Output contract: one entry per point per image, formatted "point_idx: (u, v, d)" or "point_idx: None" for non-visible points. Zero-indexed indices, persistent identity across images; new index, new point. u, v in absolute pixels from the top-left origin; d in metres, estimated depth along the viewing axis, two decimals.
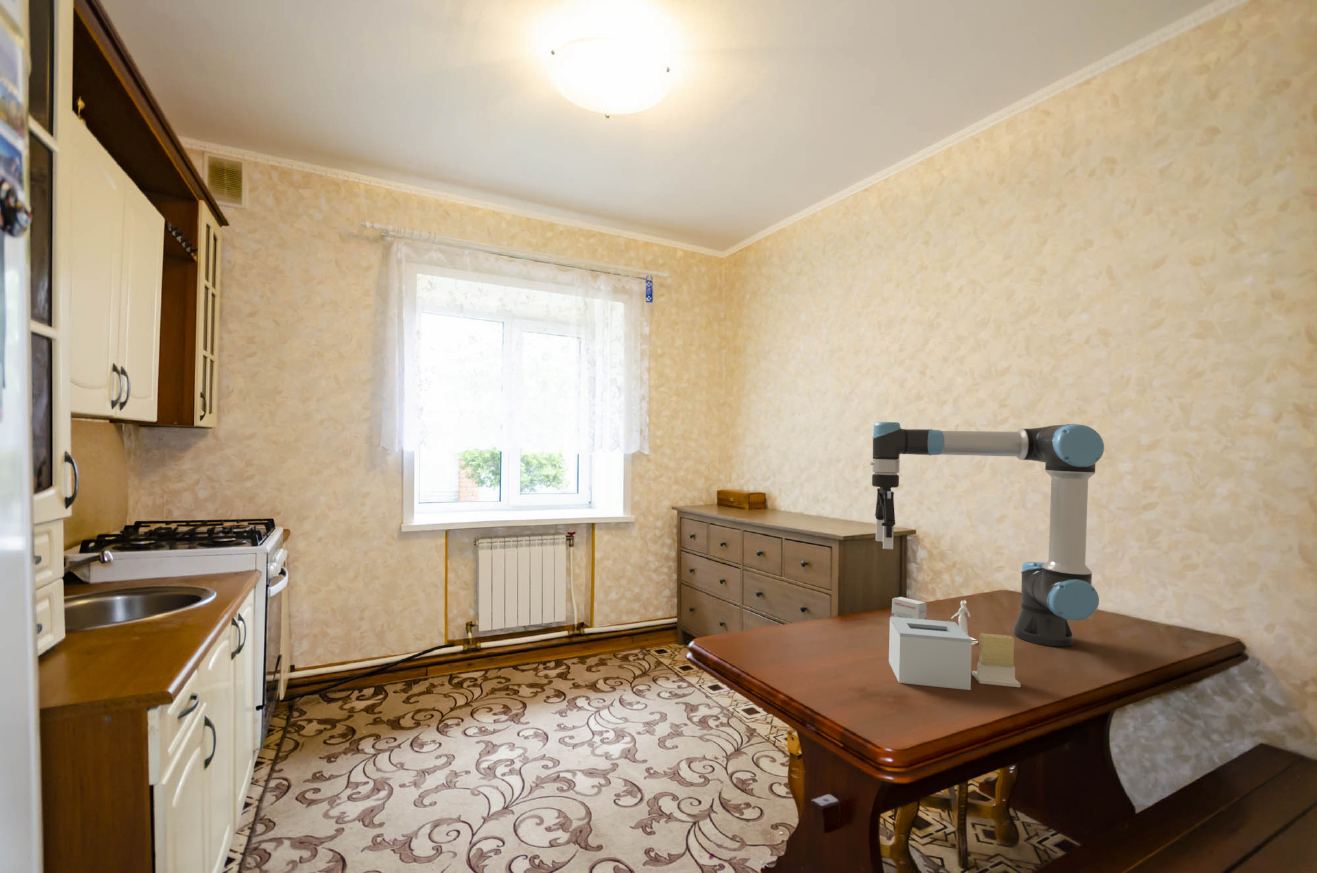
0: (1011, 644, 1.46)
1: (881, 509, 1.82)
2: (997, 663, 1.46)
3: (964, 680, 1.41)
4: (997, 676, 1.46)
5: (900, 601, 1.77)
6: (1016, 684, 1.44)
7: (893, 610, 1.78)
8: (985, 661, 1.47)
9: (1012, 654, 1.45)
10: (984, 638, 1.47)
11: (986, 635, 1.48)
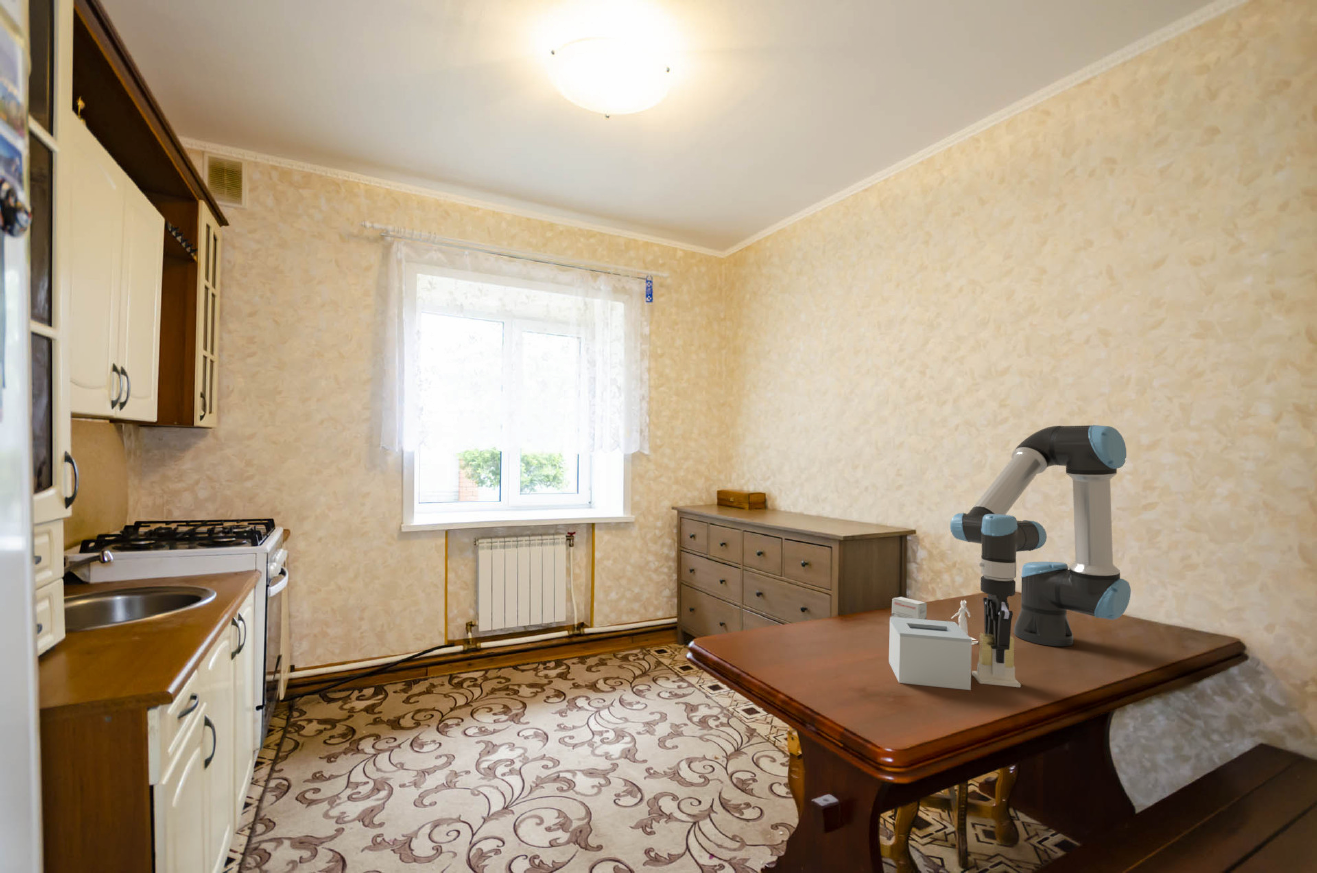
0: (1011, 644, 1.46)
1: (993, 624, 1.49)
2: None
3: (964, 680, 1.41)
4: (997, 676, 1.46)
5: (900, 601, 1.77)
6: (1016, 684, 1.44)
7: (893, 610, 1.78)
8: (985, 661, 1.47)
9: (1012, 654, 1.45)
10: (984, 638, 1.47)
11: (986, 635, 1.48)
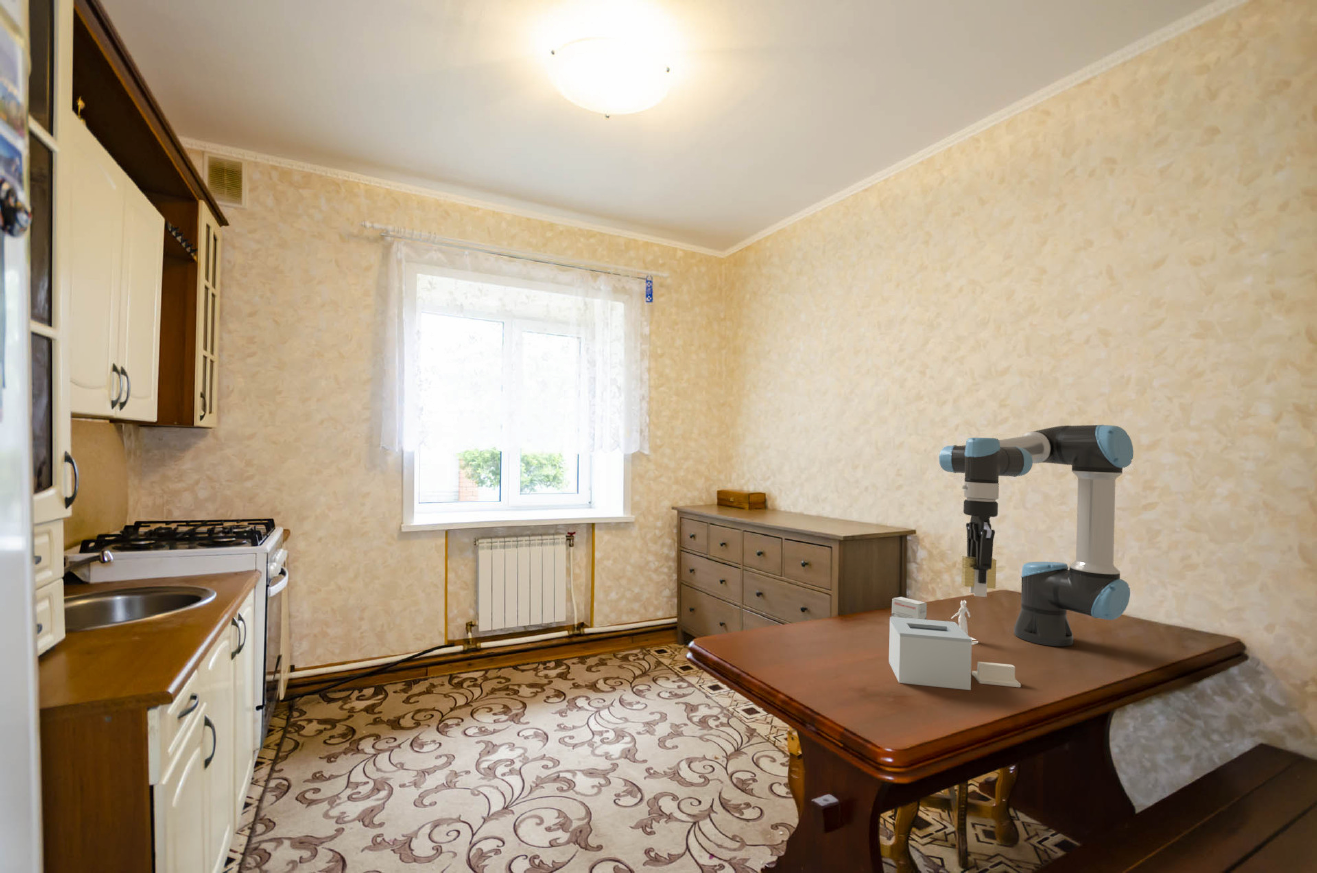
0: (993, 565, 1.46)
1: (976, 547, 1.49)
2: None
3: (964, 680, 1.41)
4: (997, 676, 1.46)
5: (900, 601, 1.77)
6: (1016, 684, 1.44)
7: (893, 610, 1.78)
8: (967, 582, 1.47)
9: (994, 575, 1.46)
10: (967, 559, 1.47)
11: (969, 557, 1.48)
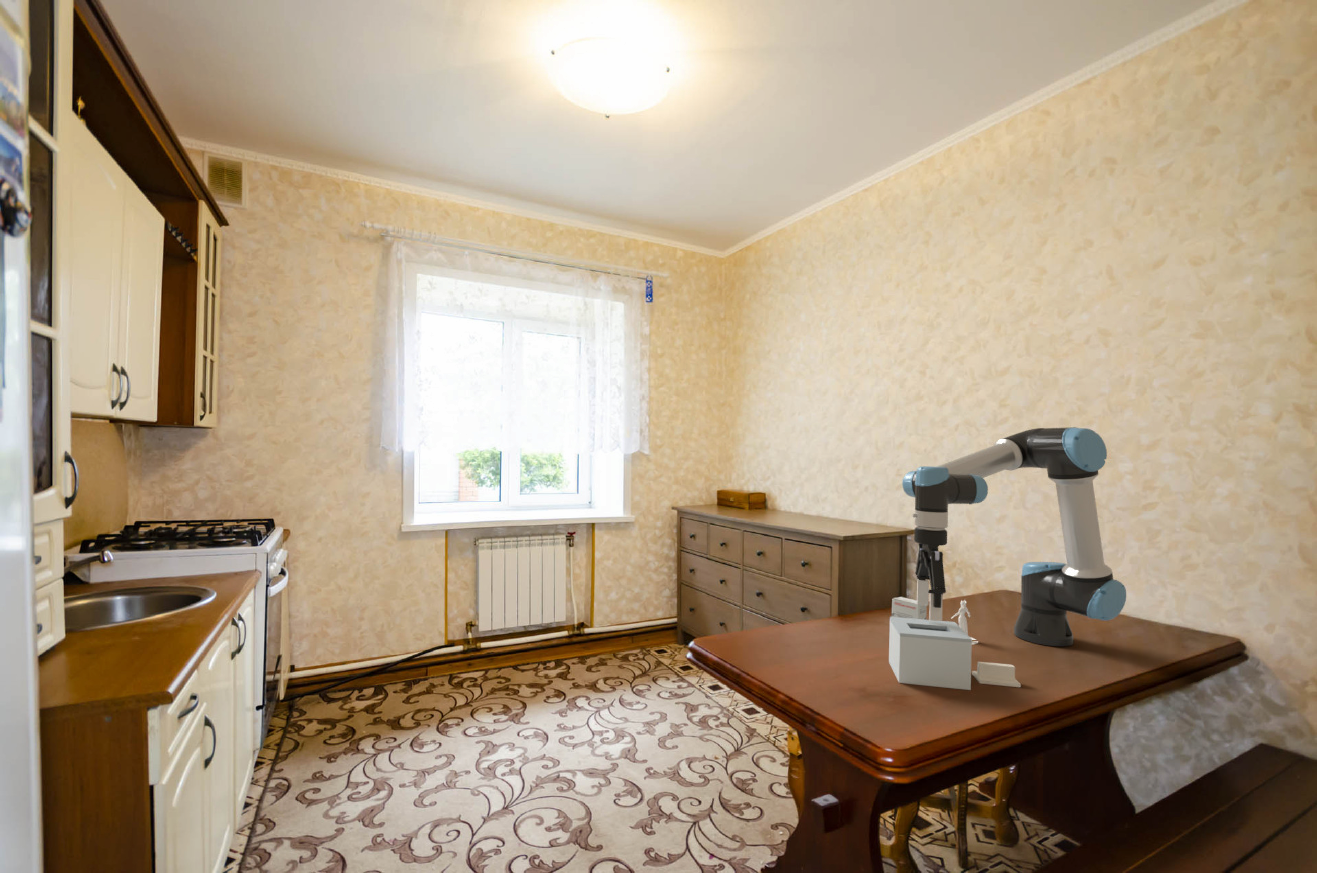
0: None
1: (924, 568, 1.54)
2: None
3: (964, 680, 1.41)
4: (997, 676, 1.46)
5: (900, 601, 1.77)
6: (1016, 684, 1.44)
7: (893, 610, 1.78)
8: None
9: None
10: None
11: None
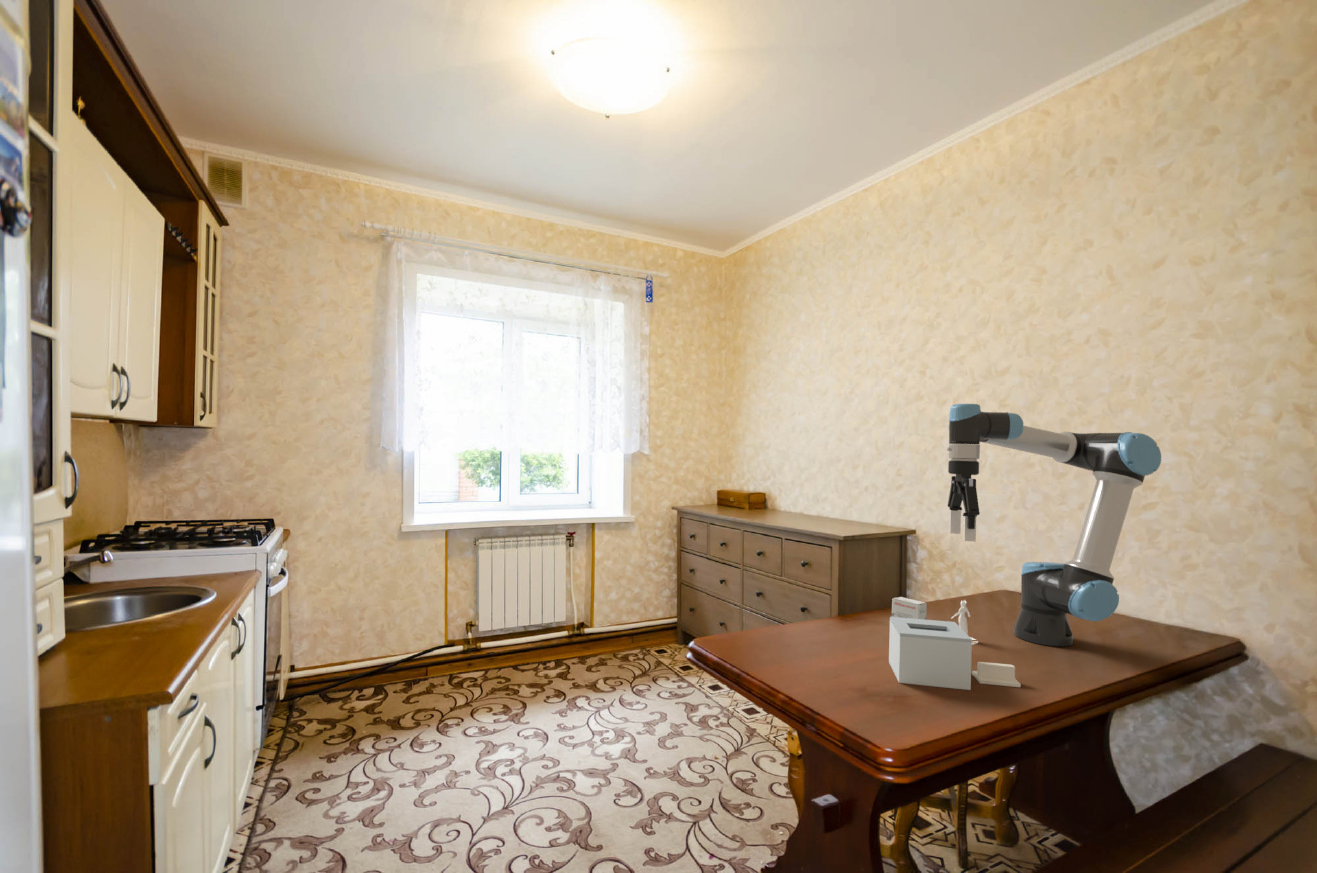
0: None
1: (957, 499, 1.68)
2: None
3: (964, 680, 1.41)
4: (997, 676, 1.46)
5: (900, 601, 1.77)
6: (1016, 684, 1.44)
7: (893, 610, 1.78)
8: None
9: None
10: None
11: None
